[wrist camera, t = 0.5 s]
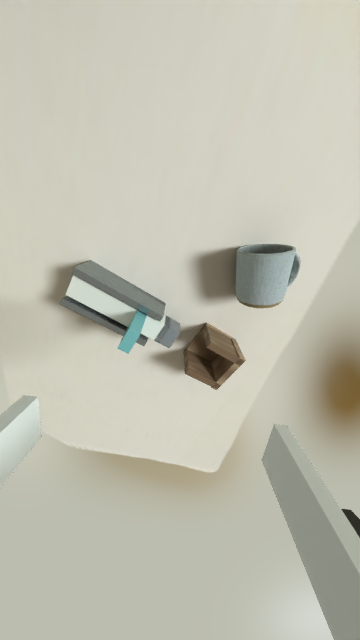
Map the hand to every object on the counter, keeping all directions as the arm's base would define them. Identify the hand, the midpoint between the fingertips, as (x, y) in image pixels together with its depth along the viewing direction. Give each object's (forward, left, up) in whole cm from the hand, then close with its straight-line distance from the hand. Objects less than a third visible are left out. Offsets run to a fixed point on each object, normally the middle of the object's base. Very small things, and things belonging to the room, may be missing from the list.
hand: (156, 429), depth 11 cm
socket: (+6, +12, -25) cm, 29 cm away
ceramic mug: (-11, +11, -26) cm, 30 cm away
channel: (+6, -7, -25) cm, 27 cm away
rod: (+6, -5, -24) cm, 25 cm away
